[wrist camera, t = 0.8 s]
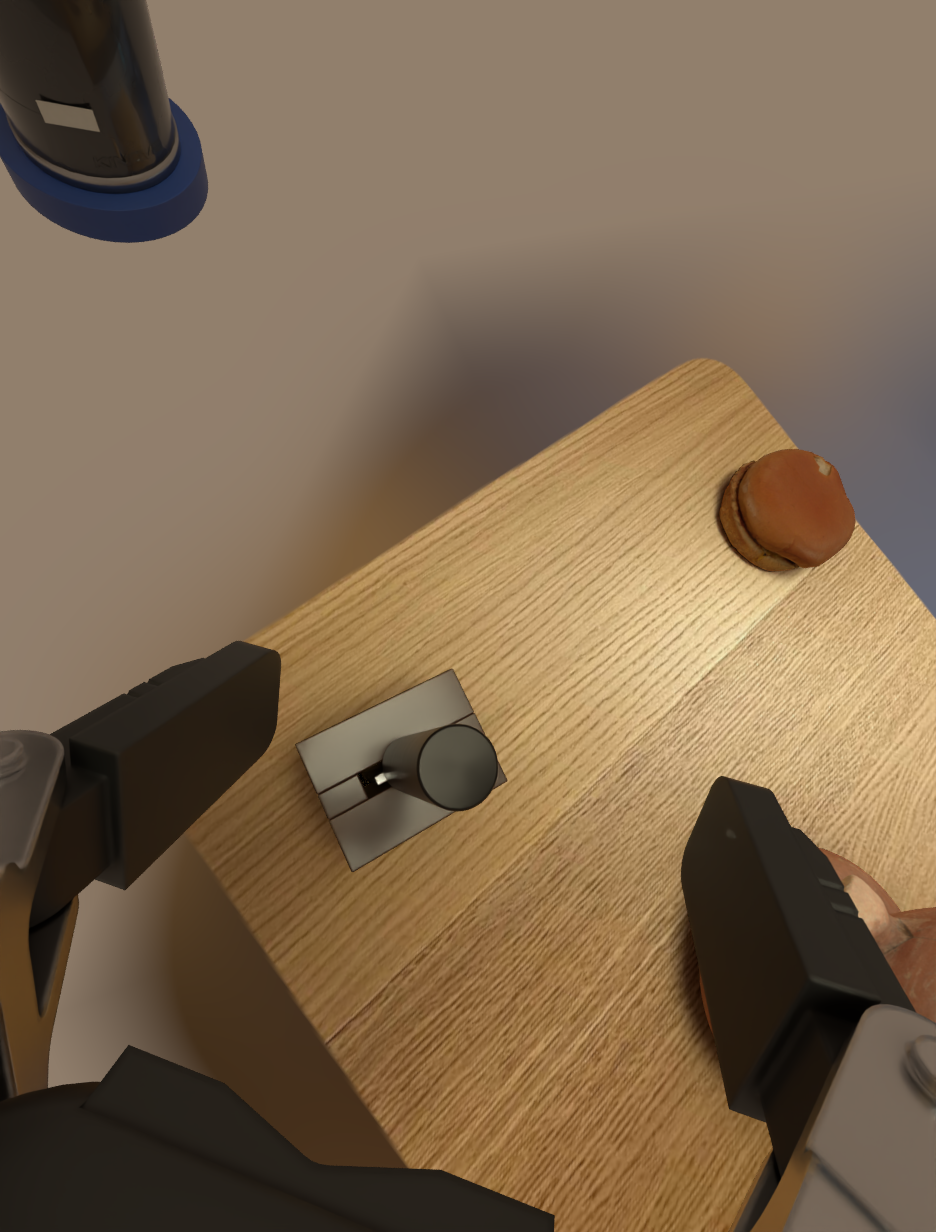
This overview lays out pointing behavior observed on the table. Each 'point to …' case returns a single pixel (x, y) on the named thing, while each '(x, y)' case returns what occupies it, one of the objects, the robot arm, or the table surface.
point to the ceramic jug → (891, 936)
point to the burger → (787, 511)
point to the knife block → (359, 742)
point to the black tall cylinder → (440, 766)
